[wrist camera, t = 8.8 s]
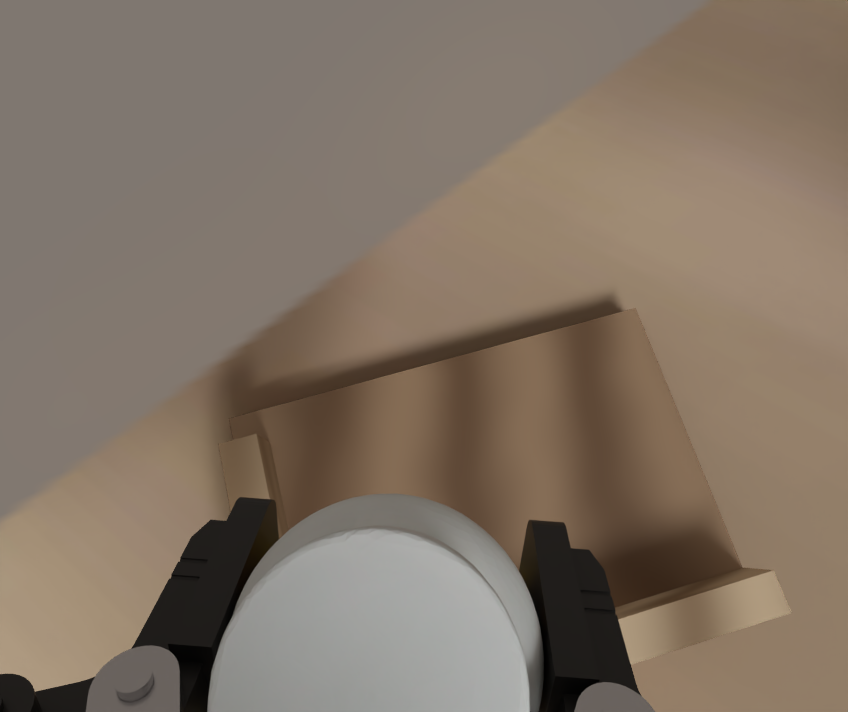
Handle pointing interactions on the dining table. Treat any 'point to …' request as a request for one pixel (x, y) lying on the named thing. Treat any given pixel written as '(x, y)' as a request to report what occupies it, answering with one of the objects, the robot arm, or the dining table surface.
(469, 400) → the wooden tray
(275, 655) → the supplement bottle
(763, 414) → the dining table surface
